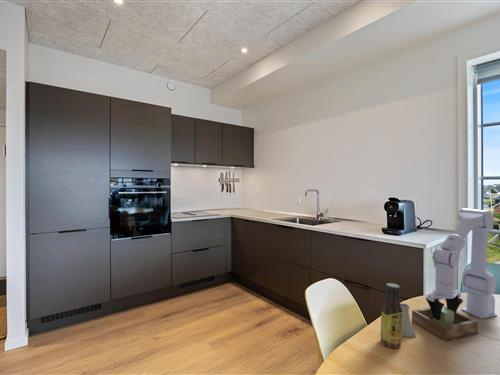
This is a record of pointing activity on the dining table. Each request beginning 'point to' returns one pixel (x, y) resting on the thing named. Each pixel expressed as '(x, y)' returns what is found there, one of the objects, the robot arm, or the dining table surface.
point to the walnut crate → (457, 330)
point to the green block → (446, 317)
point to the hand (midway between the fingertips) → (443, 317)
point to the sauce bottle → (391, 317)
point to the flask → (406, 322)
